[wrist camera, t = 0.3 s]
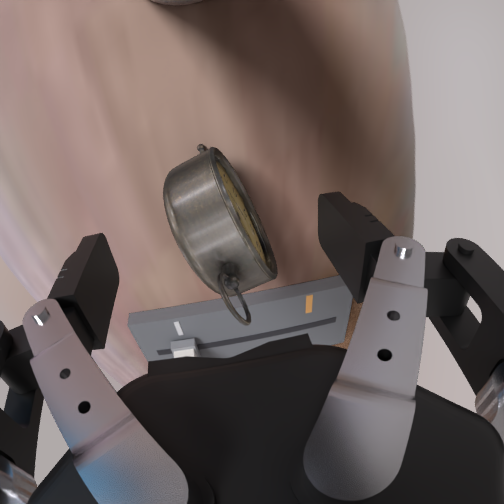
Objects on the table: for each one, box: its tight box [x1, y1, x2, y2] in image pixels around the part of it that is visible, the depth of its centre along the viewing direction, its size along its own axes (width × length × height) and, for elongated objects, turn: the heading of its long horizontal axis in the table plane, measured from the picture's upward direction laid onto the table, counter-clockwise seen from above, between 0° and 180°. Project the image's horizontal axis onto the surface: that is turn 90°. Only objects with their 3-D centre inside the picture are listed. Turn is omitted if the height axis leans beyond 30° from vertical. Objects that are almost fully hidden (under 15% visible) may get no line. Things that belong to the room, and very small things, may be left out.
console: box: [128, 275, 353, 362], centre depth 40 cm, size 12×28×2 cm, turn 95°
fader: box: [171, 338, 201, 358], centre depth 36 cm, size 5×3×7 cm, turn 5°
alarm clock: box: [163, 144, 278, 326], centre depth 23 cm, size 11×5×16 cm, turn 25°
